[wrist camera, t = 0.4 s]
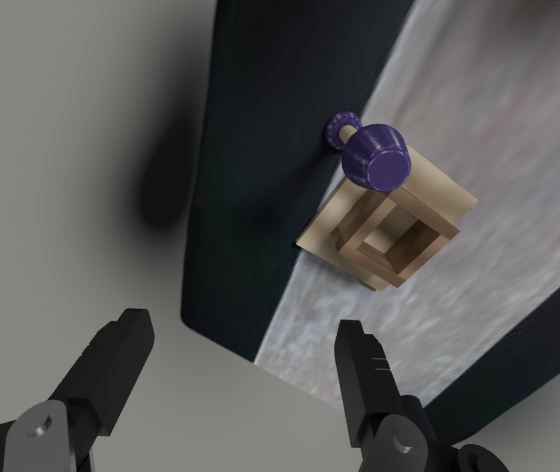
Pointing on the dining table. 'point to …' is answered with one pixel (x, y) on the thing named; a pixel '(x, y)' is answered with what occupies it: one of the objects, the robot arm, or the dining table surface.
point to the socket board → (387, 225)
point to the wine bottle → (417, 415)
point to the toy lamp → (369, 152)
